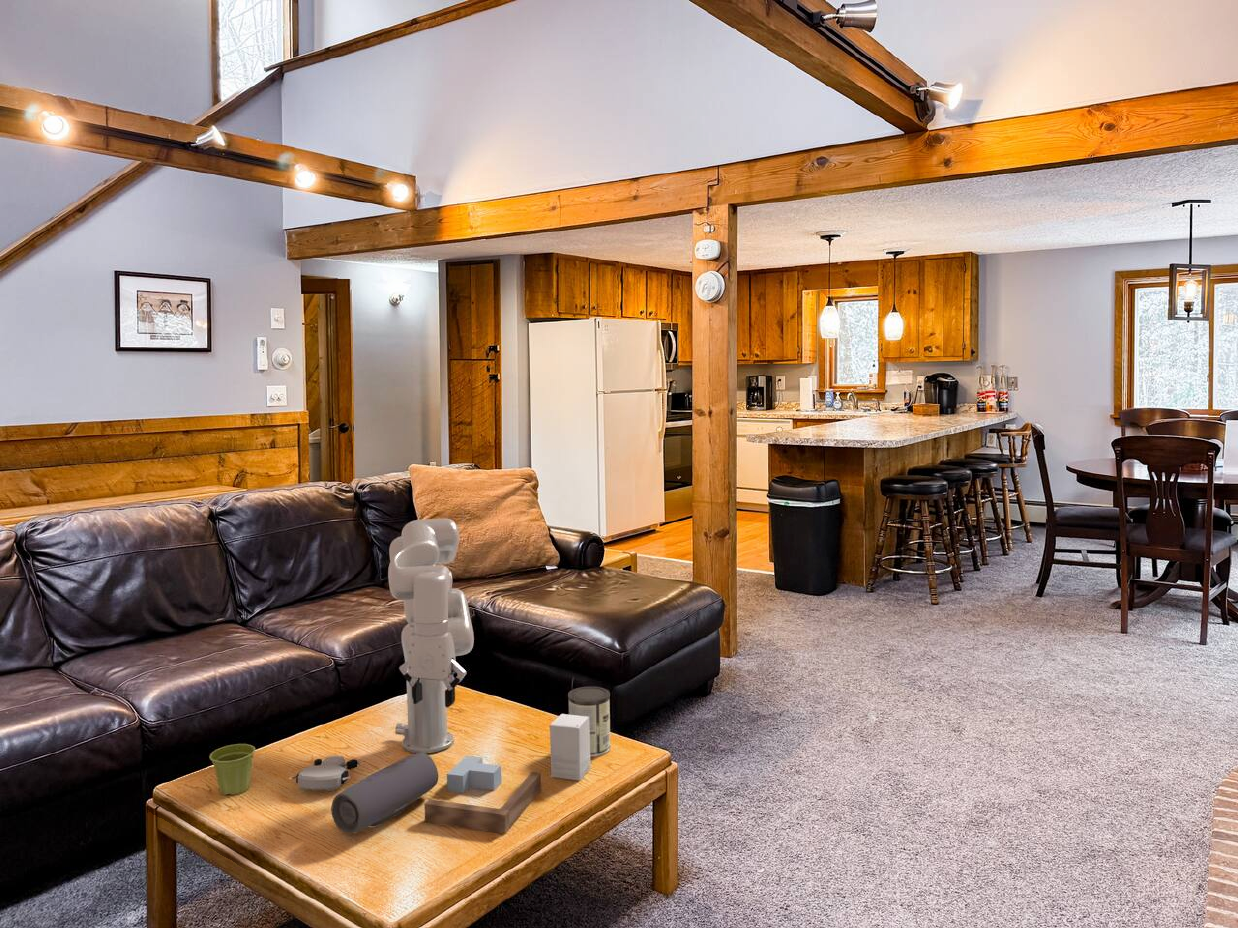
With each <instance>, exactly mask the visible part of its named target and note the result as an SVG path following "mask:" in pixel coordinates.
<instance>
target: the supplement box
mask: <svg viewBox="0 0 1238 928" xmlns="http://www.w3.org/2000/svg"><path fill="white" fill-rule="evenodd" d="M549 734H550V737H549V738H550V744H549V745H550V766H551V767H550V768H551V769H550V773H551V775H550V776H551V778H557V779H565V780H572V781H577V782H580V781H581V780H582V779H583V778H584V777H585V776H586V775H587V773H588V772H589V771H590V770H591V757H590V723H589V717H586V716H577V715H569V713H568V714H565V713H561V714H560V715H559V716H558V717H556V719H554V720H553V721H552V722H551V723H550V724H549Z"/></svg>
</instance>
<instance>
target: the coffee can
mask: <svg viewBox="0 0 1238 928" xmlns="http://www.w3.org/2000/svg"><path fill="white" fill-rule="evenodd" d="M610 697H611V693H610V690H609V689H606V688H603V687H601V686H582V687H580V686H579V687H577V688H573V689H572V690H570V691H569V692H568V694H567V698H568V715H577V716H586V717H589V723H590V758H594V757H600V756H603V755H605V754H608V753H609V752H610V750H611V718H610V717H611V714H610V713H611V711H610V709H611V707H610V705H611V703H610Z"/></svg>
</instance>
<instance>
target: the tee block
mask: <svg viewBox="0 0 1238 928" xmlns="http://www.w3.org/2000/svg"><path fill="white" fill-rule="evenodd" d="M502 782H503V781H502V765H499V764H491V763H483V757H482V756H472V755H466V756H464V758H462V759H461V760H460V761H459V762H458V763H457V764H456V765H454V766H453V768H452V769H451V770H449V771H447V773H446V788H447V792H451V793H458V794H459V793H460V794H465V793H466V792H467V791H468V790H469V789H470V788H472V789H482V790H487V791H488V790H489V791H490V790H491V791H495V790H496V789H497V788H498V787H499V786H500V785H501V784H502Z"/></svg>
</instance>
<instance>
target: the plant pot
mask: <svg viewBox="0 0 1238 928" xmlns="http://www.w3.org/2000/svg"><path fill="white" fill-rule="evenodd" d="M255 752H256V747H255V746H253V745H251V744H247V743H237V744H236V743H235V744H230V745H229V744H228V745H225V746H223V747H220V748H217V749H214V751H212V752H211V753H210V754H209V761H211V763H212V764H213V766H214V770H215V775H216V779H217V783H218V787H219V792H220V794H221V795H224V796H226V795H233V796H234V795H238V794H242V793H244V792H245V791H247V790H248V789H249V788H250V785H251V784H250V783H251V774H252V773H251V772H252V761H253V759H254V754H255Z"/></svg>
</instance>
